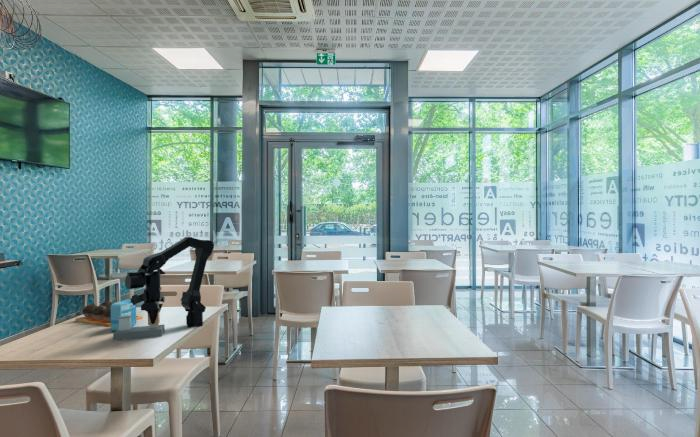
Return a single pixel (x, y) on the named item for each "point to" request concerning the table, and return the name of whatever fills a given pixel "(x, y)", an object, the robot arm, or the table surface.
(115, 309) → the data package
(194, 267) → the robot arm
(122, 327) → the grey plug
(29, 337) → the table surface
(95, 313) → the chocolates on board
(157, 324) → the brown rectangular block
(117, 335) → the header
